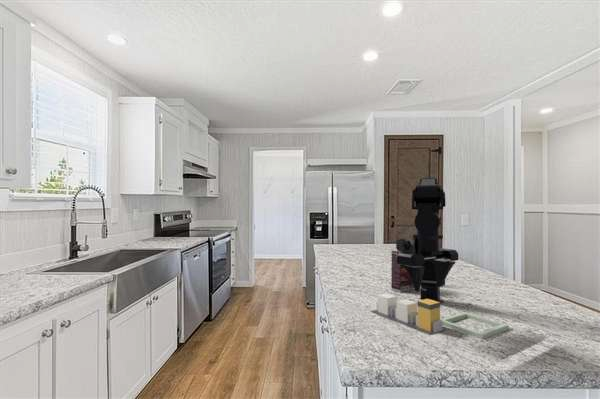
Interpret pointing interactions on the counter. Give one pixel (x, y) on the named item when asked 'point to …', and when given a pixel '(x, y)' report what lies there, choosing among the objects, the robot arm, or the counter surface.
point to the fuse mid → (405, 309)
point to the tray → (483, 334)
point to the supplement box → (399, 276)
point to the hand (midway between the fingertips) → (428, 288)
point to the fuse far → (386, 303)
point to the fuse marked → (428, 313)
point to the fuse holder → (412, 321)
